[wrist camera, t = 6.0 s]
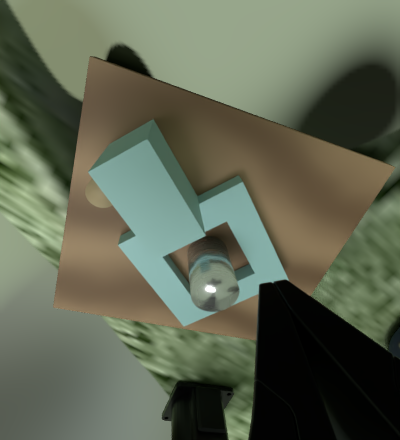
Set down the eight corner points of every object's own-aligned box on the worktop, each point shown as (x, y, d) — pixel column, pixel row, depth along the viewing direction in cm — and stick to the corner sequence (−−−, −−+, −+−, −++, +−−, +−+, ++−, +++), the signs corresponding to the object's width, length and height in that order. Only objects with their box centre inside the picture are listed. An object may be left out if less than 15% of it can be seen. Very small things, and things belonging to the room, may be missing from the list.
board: (274, 333, 28) (278, 344, 27) (58, 296, 23) (53, 307, 22) (383, 161, 20) (395, 167, 19) (95, 56, 16) (89, 56, 15)
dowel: (123, 186, 18) (114, 211, 15) (97, 179, 18) (82, 203, 15) (129, 163, 18) (120, 184, 14) (102, 155, 17) (87, 175, 14)
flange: (283, 270, 23) (310, 319, 18) (183, 315, 24) (186, 371, 20) (199, 92, 16) (211, 103, 12) (67, 168, 17) (32, 203, 13)
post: (218, 273, 22) (228, 315, 19) (181, 264, 22) (184, 307, 18) (233, 241, 21) (247, 280, 17) (194, 231, 20) (200, 269, 17)
